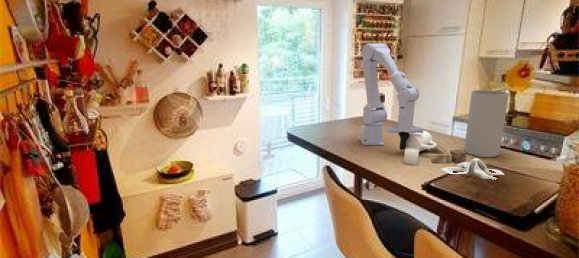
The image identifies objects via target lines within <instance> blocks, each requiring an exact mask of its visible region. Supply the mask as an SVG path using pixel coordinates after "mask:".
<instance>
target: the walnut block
mask: <svg viewBox="0 0 579 258" xmlns="http://www.w3.org/2000/svg"><path fill="white" fill-rule="evenodd" d="M449 153H450V154H451V155H452V161H451V163H452V162H453V163H454V164H459V163H463V162H467V154H468V153H467V152H466V151H465V150H464V151H463V150H461V149H451V150H449Z"/></svg>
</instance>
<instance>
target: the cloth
mask: <svg viewBox="0 0 579 258" xmlns="http://www.w3.org/2000/svg"><path fill="white" fill-rule="evenodd" d="M458 166H459V167H458ZM460 166H461V167H460ZM462 167H464V168H462ZM439 170H440V171H441V170H442V171H441V172H443V173H444V172H445V173H444V174H446V173H449V174H469V173H472V174H473V175H475V176H478V177H480V178H482V179H492V180H494V179H495V180H496V179H498V177H493V176H494V175H505V173H503V171H502V170H499V169H495V168H488V167H487V165H486V164H485V163H484V162H483V161H482V160H481V159H480V158H477V157H476V158H473V159H471V161H470V162H467V161H466V162H463V163H456V166H448V167H447V166H446V167H442V168H440V169H439ZM489 170H492V171H494V172H496V173H491V172H489ZM453 171H464V172H458V173H453Z"/></svg>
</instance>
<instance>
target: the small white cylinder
mask: <svg viewBox="0 0 579 258" xmlns="http://www.w3.org/2000/svg"><path fill="white" fill-rule="evenodd" d="M419 153H420V152H419V150H418V149H415V148H406V149H405V150H404V156H403V157H404V158H403V163H404V164H406V165H413V166H414V165H417V164H419V163H418V162H419Z"/></svg>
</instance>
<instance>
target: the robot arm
mask: <svg viewBox="0 0 579 258" xmlns="http://www.w3.org/2000/svg"><path fill="white" fill-rule="evenodd" d="M361 55H362V69H363V71H362V72H363V78H364V85H365V86H364V87H365V95H366V100H367V101H366V102H367V103H366V104H365V106H364V107H363V112H362V113H363V114H362V119H363V121H364V123H361V124H360V139H359V141H360V142H361V144H362V145H363V146H384V145H385V143H384V141H383V128H384V126H383V125H384V124H385V122H386V121H387V118H388V112H387V110H386V108H385V105H384V103H382V102H381V99H380V90H379V84H378V81H379V80H378V74H377V66H378V64H379V63H381V65H383V67H384V68H385V70H386V71H387V72H388V74H389V75H390V78H389V79H390V80H389V81H390V82H391V84H392V87H394V89H395V91H396V93H397V94H396V98H397V101H398V106H399V107H398V116H397V117H398V119H397V126H387V127H385V132H386V134H390V133H392V134H393V133H396V134H397V133H398V135H399V138H400V140H399V146H398V147H399V150H401V151H405V149H406V141H407V139H408V138H409V136H410V134H413V133H423V131H425V130H424V128H423V127H416V126H413V125H414V124H413V123H414V116H415V115H414V114H415V106H416V101H418V99H419V97H420V92H419V89H418V88H417V87H416V86H413V85H412V84H411V83H410V82H409V80H408V78H407V75H406V73H404V72H402V71H399V69H398V67H397V65H396V63H395V61H394V60H393V58H392V56H391V50H390V48H389V46H388V45H387V43H384V42H382V43H371V42H370V43H366V44H365V45H364V46H363V48H362V50H361Z"/></svg>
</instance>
